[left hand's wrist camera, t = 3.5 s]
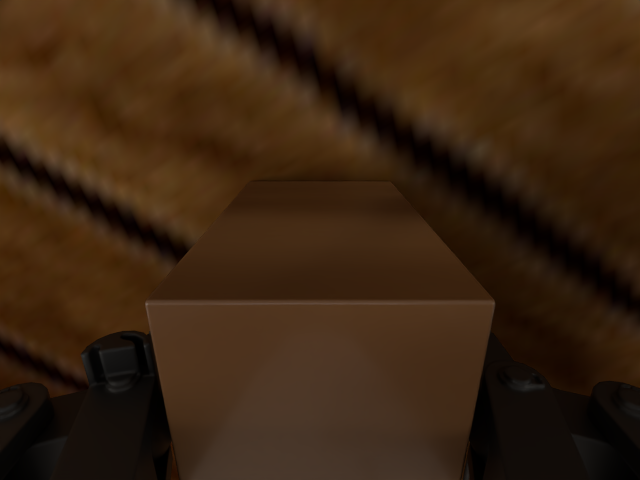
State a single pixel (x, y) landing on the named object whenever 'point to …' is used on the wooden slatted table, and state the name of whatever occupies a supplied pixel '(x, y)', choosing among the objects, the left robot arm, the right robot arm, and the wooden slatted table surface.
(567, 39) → the wooden slatted table surface
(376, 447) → the bar
